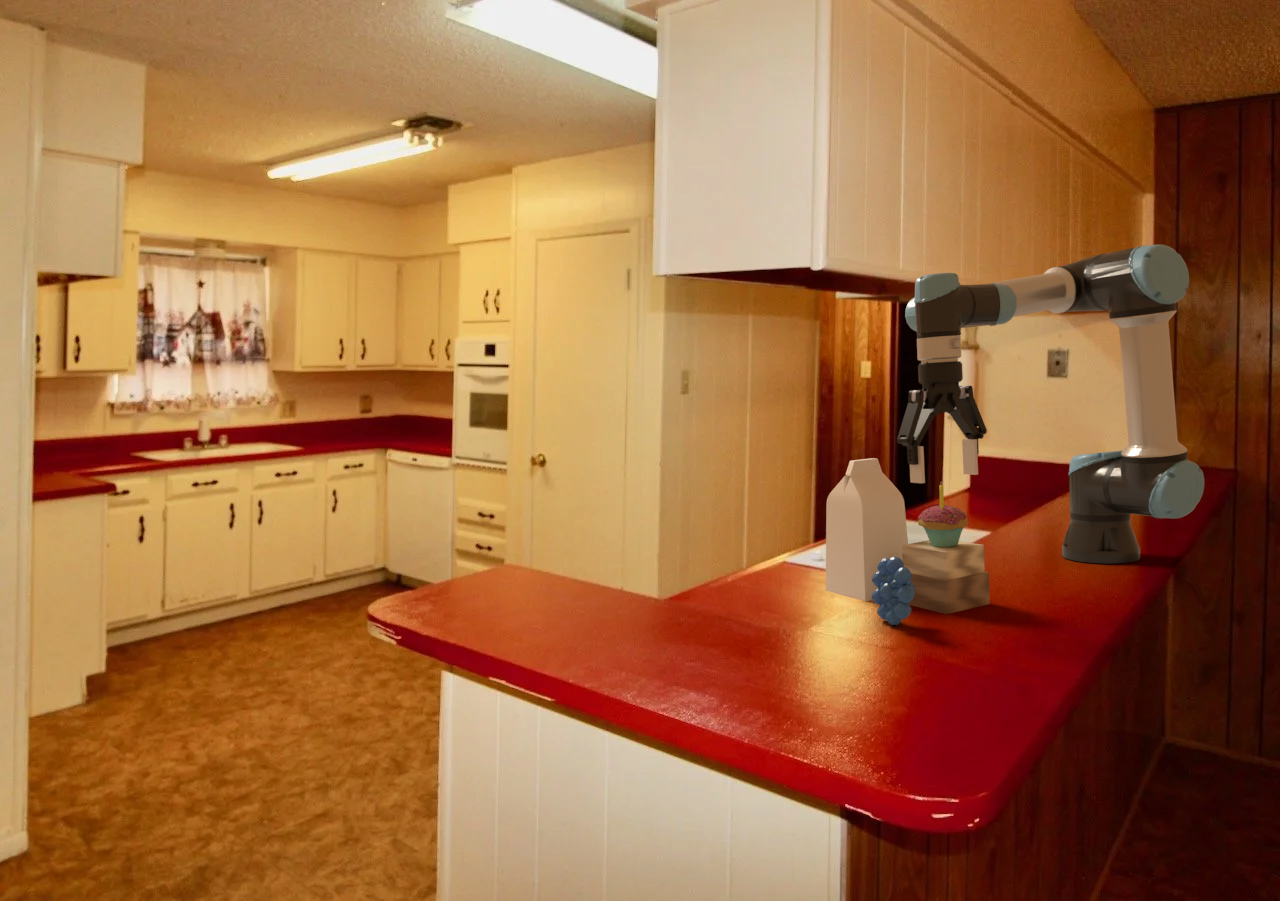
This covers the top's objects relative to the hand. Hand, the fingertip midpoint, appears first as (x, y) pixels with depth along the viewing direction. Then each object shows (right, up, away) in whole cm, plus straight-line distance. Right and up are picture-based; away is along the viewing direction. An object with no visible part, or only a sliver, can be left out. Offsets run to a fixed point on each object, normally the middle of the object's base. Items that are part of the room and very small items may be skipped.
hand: (944, 478), depth 161 cm
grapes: (-12, -25, -11) cm, 29 cm away
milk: (-10, -23, +14) cm, 28 cm away
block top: (0, -17, +1) cm, 17 cm away
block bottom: (0, -23, +1) cm, 23 cm away
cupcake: (0, -12, 0) cm, 12 cm away
